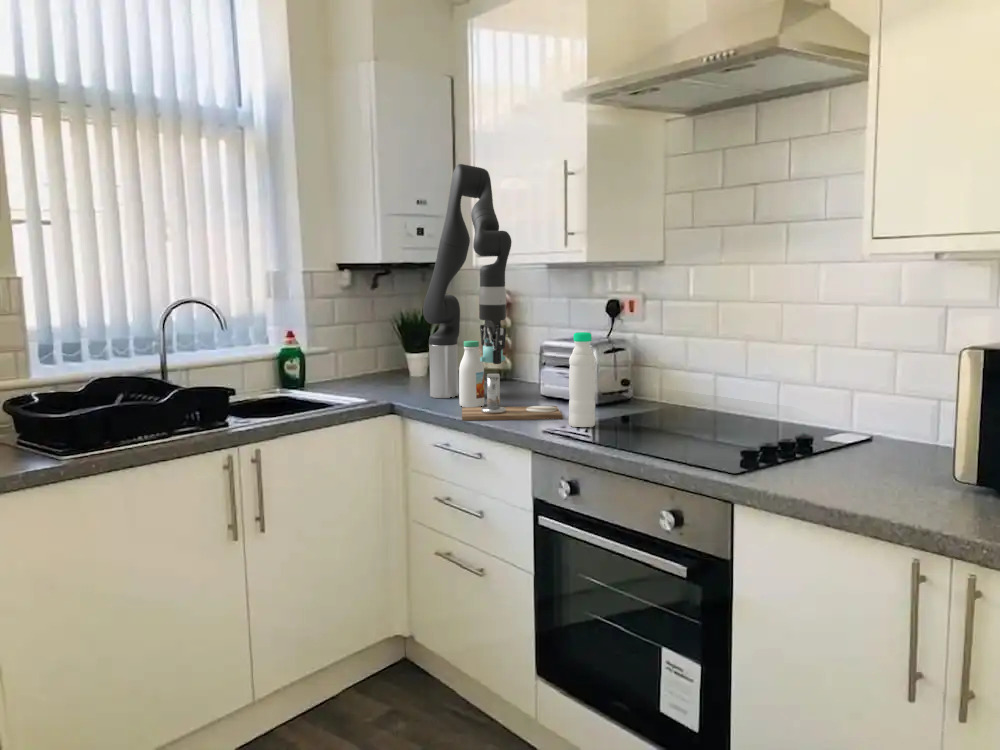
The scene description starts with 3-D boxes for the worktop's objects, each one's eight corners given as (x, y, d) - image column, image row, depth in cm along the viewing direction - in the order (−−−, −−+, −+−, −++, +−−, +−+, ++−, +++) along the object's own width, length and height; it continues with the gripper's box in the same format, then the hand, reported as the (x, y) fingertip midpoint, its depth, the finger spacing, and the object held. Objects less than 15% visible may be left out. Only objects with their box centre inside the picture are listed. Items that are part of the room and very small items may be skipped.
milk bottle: (468, 409, 238) (467, 342, 235) (454, 405, 244) (453, 340, 241) (489, 406, 242) (489, 341, 240) (475, 403, 249) (474, 339, 246)
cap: (500, 359, 229) (500, 341, 228) (508, 361, 223) (508, 342, 223) (477, 361, 226) (477, 342, 225) (484, 363, 221) (484, 343, 220)
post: (481, 409, 230) (480, 372, 228) (505, 409, 230) (504, 372, 229) (481, 414, 223) (481, 376, 222) (506, 414, 223) (506, 376, 222)
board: (462, 411, 234) (462, 406, 234) (556, 410, 236) (556, 404, 235) (462, 420, 220) (461, 414, 220) (562, 419, 222) (562, 413, 221)
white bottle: (594, 429, 208) (594, 333, 204) (567, 428, 209) (567, 333, 206) (596, 423, 215) (597, 331, 211) (570, 423, 216) (570, 331, 213)
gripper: (515, 303, 217) (515, 365, 220) (495, 301, 230) (495, 359, 233) (489, 304, 214) (489, 366, 217) (471, 302, 227) (471, 360, 230)
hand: (492, 362), depth 225 cm, fingers closed on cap, 5 cm apart
